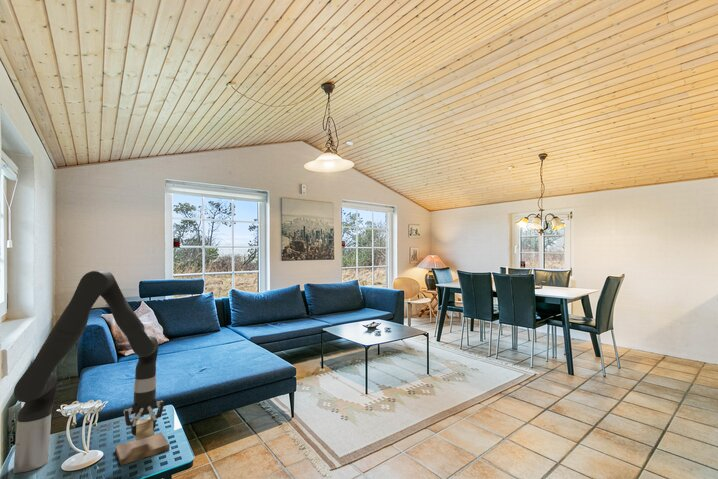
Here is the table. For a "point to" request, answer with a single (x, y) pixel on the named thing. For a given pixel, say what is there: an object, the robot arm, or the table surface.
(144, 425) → the oak block
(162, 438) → the walnut board
